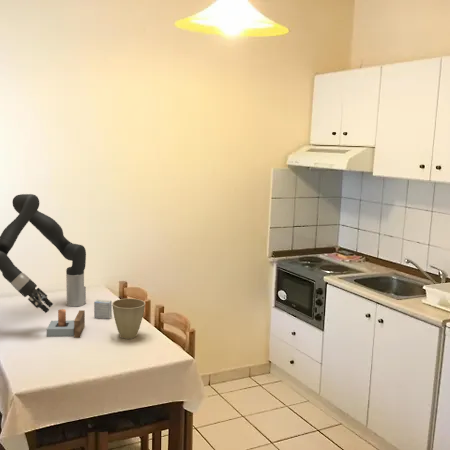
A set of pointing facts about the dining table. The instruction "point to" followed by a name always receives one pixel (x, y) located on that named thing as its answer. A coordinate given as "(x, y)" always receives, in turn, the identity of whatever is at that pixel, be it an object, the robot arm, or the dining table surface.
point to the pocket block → (60, 329)
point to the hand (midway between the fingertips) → (49, 308)
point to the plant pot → (128, 316)
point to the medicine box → (103, 309)
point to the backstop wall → (79, 323)
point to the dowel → (62, 318)
